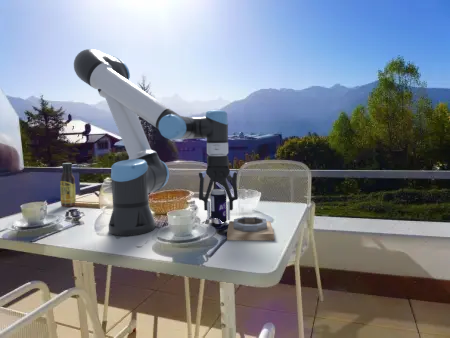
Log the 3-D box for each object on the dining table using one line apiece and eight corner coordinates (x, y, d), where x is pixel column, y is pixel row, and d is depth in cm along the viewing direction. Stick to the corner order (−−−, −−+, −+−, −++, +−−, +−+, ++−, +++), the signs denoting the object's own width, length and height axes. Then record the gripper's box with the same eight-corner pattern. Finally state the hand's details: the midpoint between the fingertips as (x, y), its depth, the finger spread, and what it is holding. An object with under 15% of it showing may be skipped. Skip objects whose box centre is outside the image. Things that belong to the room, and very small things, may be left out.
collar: (233, 231, 99) (233, 225, 99) (234, 222, 109) (234, 216, 109) (267, 232, 98) (267, 225, 98) (265, 222, 109) (265, 216, 108)
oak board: (227, 240, 98) (227, 233, 97) (229, 226, 111) (229, 221, 111) (273, 240, 97) (273, 233, 96) (270, 227, 111) (270, 221, 110)
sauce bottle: (57, 207, 148) (54, 163, 146) (68, 204, 154) (65, 162, 152) (69, 207, 146) (66, 163, 144) (79, 204, 152) (76, 162, 150)
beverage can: (220, 226, 113) (219, 192, 111) (207, 223, 116) (207, 190, 115) (229, 222, 117) (229, 189, 116) (217, 220, 121) (217, 188, 119)
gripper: (188, 156, 111) (190, 221, 113) (245, 155, 110) (245, 221, 112) (192, 154, 118) (193, 216, 121) (245, 154, 117) (245, 216, 120)
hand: (218, 219), depth 116 cm, fingers open, 6 cm apart
